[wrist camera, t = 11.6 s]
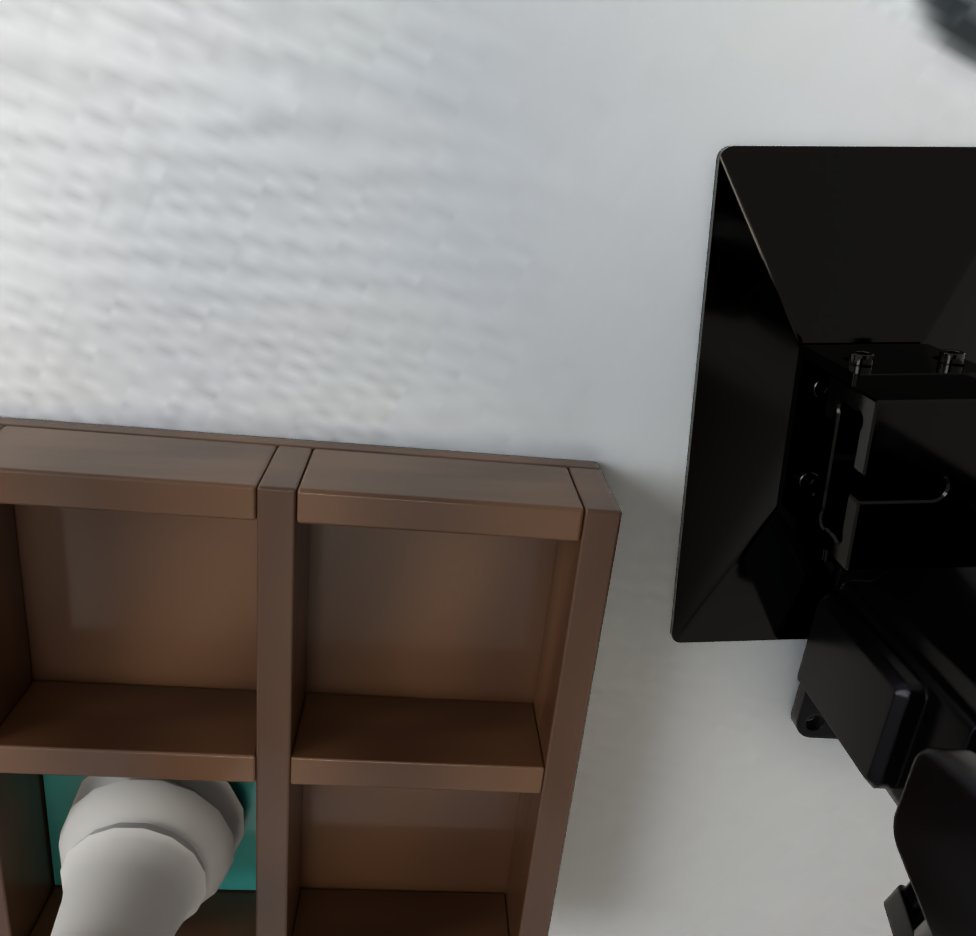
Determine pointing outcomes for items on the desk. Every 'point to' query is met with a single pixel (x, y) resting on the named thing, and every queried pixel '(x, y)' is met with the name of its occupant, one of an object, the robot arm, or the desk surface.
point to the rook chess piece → (144, 854)
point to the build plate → (828, 382)
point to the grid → (303, 666)
